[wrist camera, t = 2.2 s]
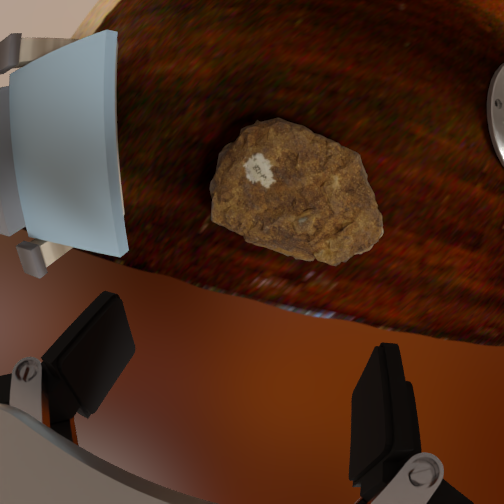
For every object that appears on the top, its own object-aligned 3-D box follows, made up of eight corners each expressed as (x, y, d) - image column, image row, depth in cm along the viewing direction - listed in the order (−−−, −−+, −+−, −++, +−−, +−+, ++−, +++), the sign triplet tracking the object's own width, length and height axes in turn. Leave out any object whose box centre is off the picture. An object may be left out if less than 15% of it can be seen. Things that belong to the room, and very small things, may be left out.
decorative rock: (405, 164, 21) (239, 106, 23) (418, 171, 18) (223, 103, 19) (356, 275, 27) (211, 222, 28) (359, 298, 23) (193, 237, 25)
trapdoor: (136, 36, 13) (81, 25, 9) (144, 237, 20) (101, 273, 16) (15, 82, 16) (-27, 90, 12) (30, 218, 23) (-6, 241, 18)
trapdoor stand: (118, 40, 20) (12, 32, 9) (124, 217, 30) (41, 279, 19) (97, 46, 21) (-5, 46, 10) (105, 214, 31) (23, 271, 19)
